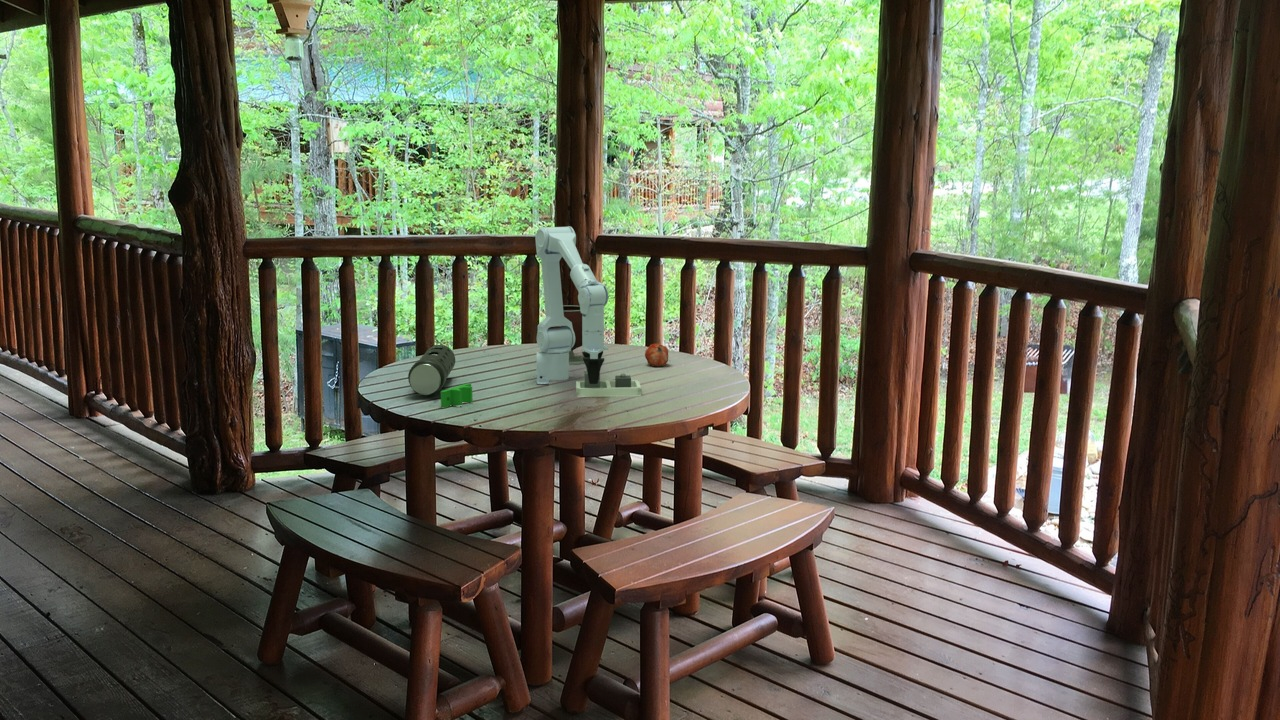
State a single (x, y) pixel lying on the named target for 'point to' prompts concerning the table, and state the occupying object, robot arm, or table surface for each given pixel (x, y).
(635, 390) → the pale green compartment tray
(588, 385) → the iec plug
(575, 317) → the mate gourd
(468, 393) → the pipe clamp
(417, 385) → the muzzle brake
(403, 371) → the table surface
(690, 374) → the table surface
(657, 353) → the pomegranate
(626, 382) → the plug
